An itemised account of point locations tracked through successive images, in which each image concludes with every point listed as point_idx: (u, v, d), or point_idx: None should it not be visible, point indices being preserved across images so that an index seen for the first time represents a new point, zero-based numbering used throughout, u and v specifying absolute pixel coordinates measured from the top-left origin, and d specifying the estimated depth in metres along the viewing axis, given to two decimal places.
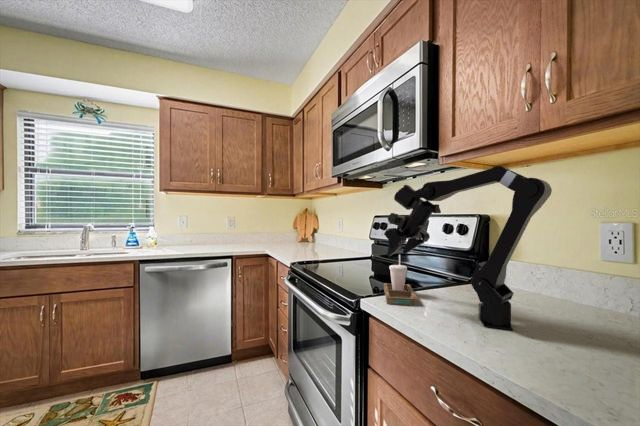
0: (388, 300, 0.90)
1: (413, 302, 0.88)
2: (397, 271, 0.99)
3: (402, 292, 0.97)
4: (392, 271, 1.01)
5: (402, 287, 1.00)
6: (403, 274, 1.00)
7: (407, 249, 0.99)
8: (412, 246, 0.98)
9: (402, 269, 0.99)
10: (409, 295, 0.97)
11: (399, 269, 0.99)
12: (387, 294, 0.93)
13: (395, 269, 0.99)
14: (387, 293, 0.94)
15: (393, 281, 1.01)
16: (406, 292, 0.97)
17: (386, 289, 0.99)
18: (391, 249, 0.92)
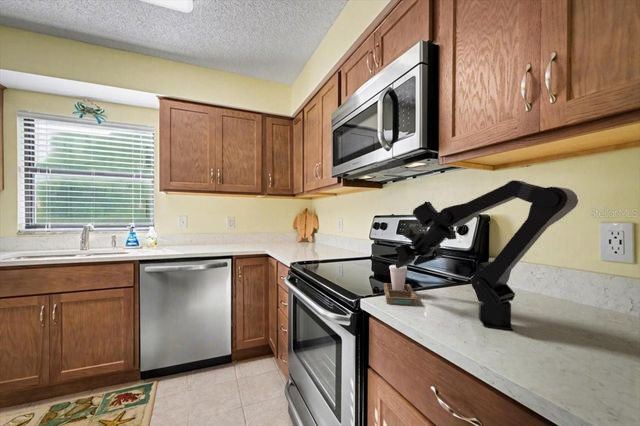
0: (388, 300, 0.90)
1: (413, 302, 0.88)
2: (397, 271, 0.99)
3: (402, 292, 0.97)
4: (392, 271, 1.01)
5: (402, 287, 1.00)
6: (403, 274, 1.00)
7: (418, 262, 1.00)
8: (423, 260, 0.98)
9: (402, 269, 0.99)
10: (409, 295, 0.97)
11: (399, 269, 0.99)
12: (387, 294, 0.93)
13: (395, 269, 0.99)
14: (387, 293, 0.94)
15: (393, 281, 1.01)
16: (406, 292, 0.97)
17: (386, 289, 0.99)
18: (400, 263, 0.94)
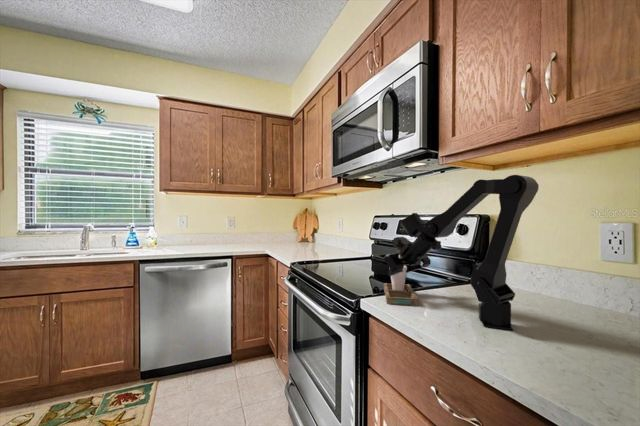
0: (388, 300, 0.90)
1: (413, 302, 0.88)
2: None
3: (402, 292, 0.97)
4: None
5: (402, 287, 1.00)
6: (403, 274, 1.00)
7: None
8: (409, 269, 1.02)
9: (402, 269, 0.99)
10: (409, 295, 0.97)
11: None
12: (387, 294, 0.93)
13: None
14: (387, 293, 0.94)
15: (393, 281, 1.01)
16: (406, 292, 0.97)
17: (386, 289, 0.99)
18: (392, 271, 0.99)
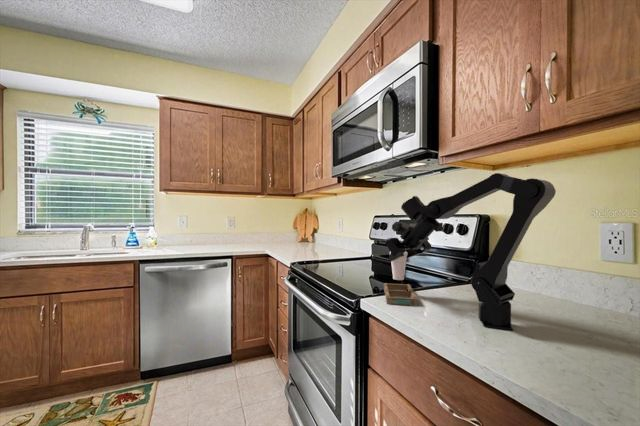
0: (388, 300, 0.90)
1: (413, 302, 0.88)
2: None
3: (402, 292, 0.97)
4: None
5: (403, 273, 0.98)
6: (404, 259, 0.98)
7: None
8: (410, 254, 1.00)
9: None
10: (409, 295, 0.97)
11: None
12: (387, 294, 0.93)
13: None
14: (387, 293, 0.94)
15: (393, 267, 0.99)
16: (406, 292, 0.97)
17: (386, 289, 0.99)
18: (393, 256, 0.97)
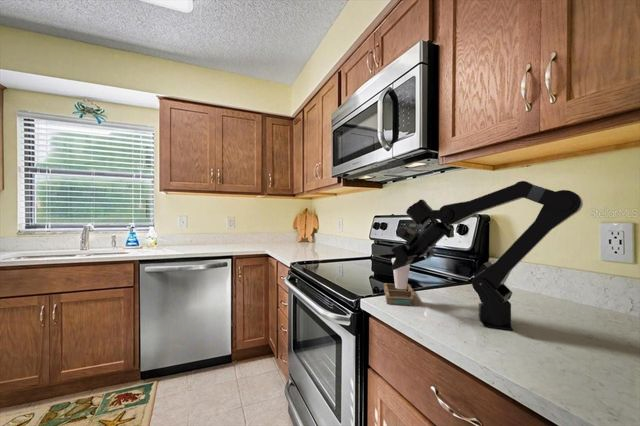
0: (388, 300, 0.90)
1: (413, 302, 0.88)
2: None
3: (402, 292, 0.97)
4: None
5: (406, 281, 0.92)
6: (408, 267, 0.91)
7: None
8: (412, 261, 0.94)
9: None
10: (409, 295, 0.97)
11: None
12: (387, 294, 0.93)
13: None
14: (387, 293, 0.94)
15: (397, 275, 0.92)
16: (406, 292, 0.97)
17: (386, 289, 0.99)
18: (397, 264, 0.90)
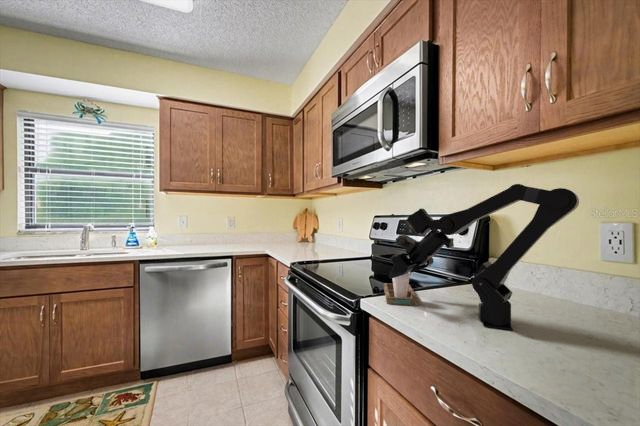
0: (388, 300, 0.90)
1: (413, 302, 0.88)
2: (402, 277, 0.90)
3: None
4: (396, 277, 0.91)
5: (406, 294, 0.92)
6: (407, 280, 0.91)
7: None
8: (414, 268, 0.95)
9: (407, 274, 0.90)
10: (409, 295, 0.97)
11: (404, 275, 0.90)
12: (387, 294, 0.93)
13: None
14: (387, 293, 0.94)
15: (396, 288, 0.92)
16: None
17: (386, 289, 0.99)
18: (394, 273, 0.89)
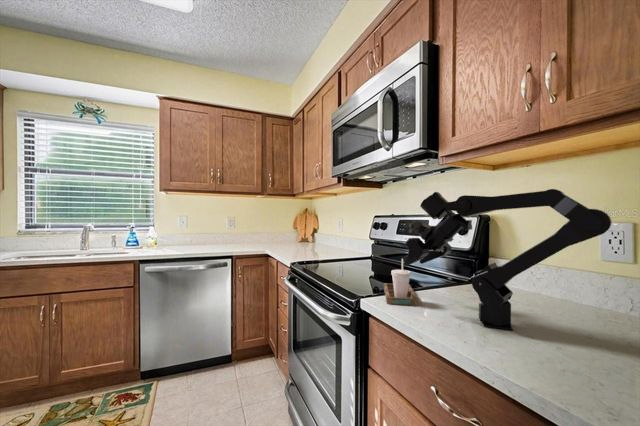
0: (388, 300, 0.90)
1: (413, 302, 0.88)
2: (402, 277, 0.90)
3: None
4: (396, 277, 0.91)
5: (406, 294, 0.92)
6: (407, 280, 0.91)
7: (425, 259, 0.92)
8: (431, 257, 0.91)
9: (407, 274, 0.90)
10: (409, 295, 0.97)
11: (404, 275, 0.90)
12: (387, 294, 0.93)
13: (400, 275, 0.90)
14: (387, 293, 0.94)
15: (397, 288, 0.92)
16: None
17: (386, 289, 0.99)
18: (410, 259, 0.85)
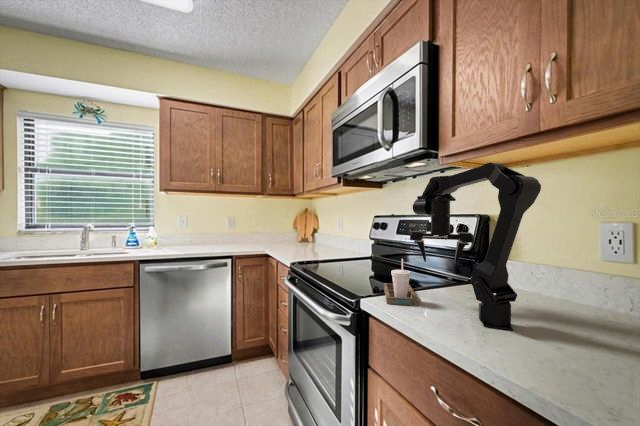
0: (388, 300, 0.90)
1: (413, 302, 0.88)
2: (402, 277, 0.90)
3: None
4: (396, 277, 0.91)
5: (406, 294, 0.92)
6: (407, 280, 0.91)
7: (455, 257, 0.89)
8: (456, 251, 0.88)
9: (407, 274, 0.90)
10: (409, 295, 0.97)
11: (404, 275, 0.90)
12: (387, 294, 0.93)
13: (400, 275, 0.90)
14: (387, 293, 0.94)
15: (397, 288, 0.92)
16: None
17: (386, 289, 0.99)
18: None
